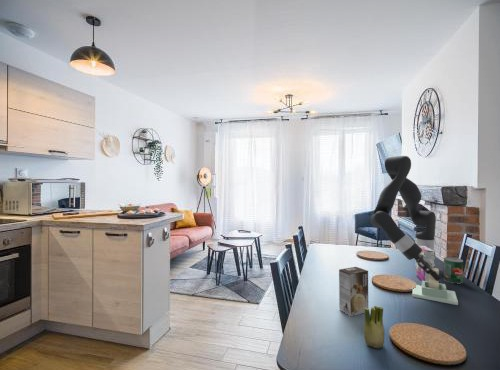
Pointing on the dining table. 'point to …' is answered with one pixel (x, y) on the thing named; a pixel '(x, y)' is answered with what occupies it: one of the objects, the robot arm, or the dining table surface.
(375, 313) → the fennel bulb
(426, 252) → the candy bar box
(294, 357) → the dining table surface
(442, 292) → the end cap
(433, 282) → the ash slat
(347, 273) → the coffee box
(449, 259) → the canned tomato
